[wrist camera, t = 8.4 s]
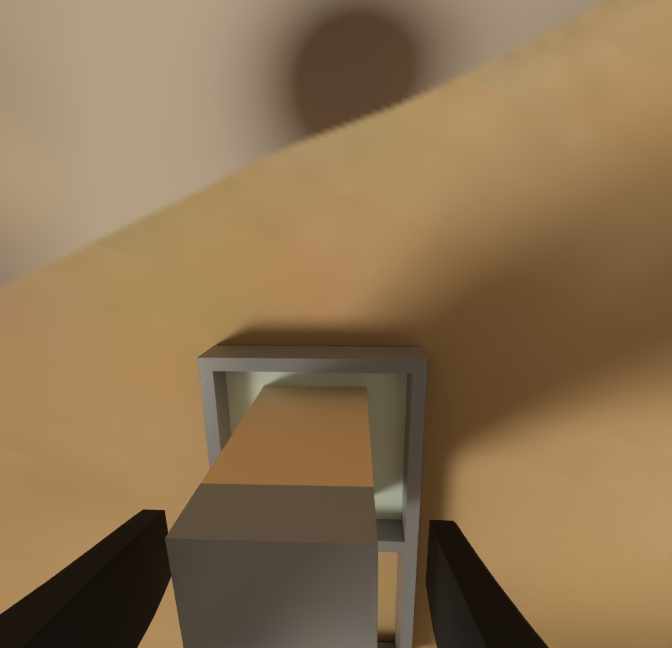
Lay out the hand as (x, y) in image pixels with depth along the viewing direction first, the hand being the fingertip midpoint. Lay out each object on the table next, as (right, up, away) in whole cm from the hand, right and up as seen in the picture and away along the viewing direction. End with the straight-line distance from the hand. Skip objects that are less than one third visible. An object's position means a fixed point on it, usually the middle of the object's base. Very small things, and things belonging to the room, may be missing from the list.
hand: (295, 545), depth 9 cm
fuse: (0, +1, +5) cm, 5 cm away
